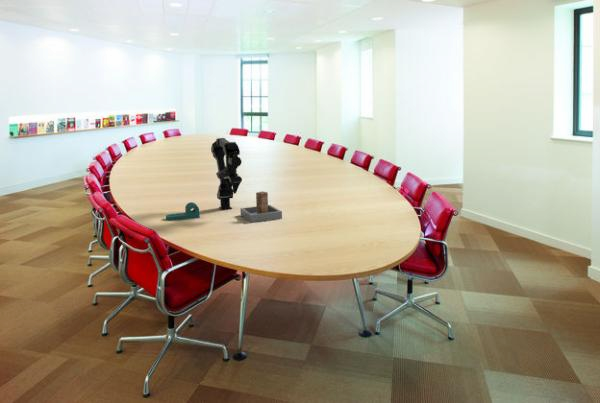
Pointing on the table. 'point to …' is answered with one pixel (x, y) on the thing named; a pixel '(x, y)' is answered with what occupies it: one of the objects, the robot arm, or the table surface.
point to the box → (252, 215)
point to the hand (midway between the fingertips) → (232, 192)
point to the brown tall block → (262, 202)
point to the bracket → (187, 214)
